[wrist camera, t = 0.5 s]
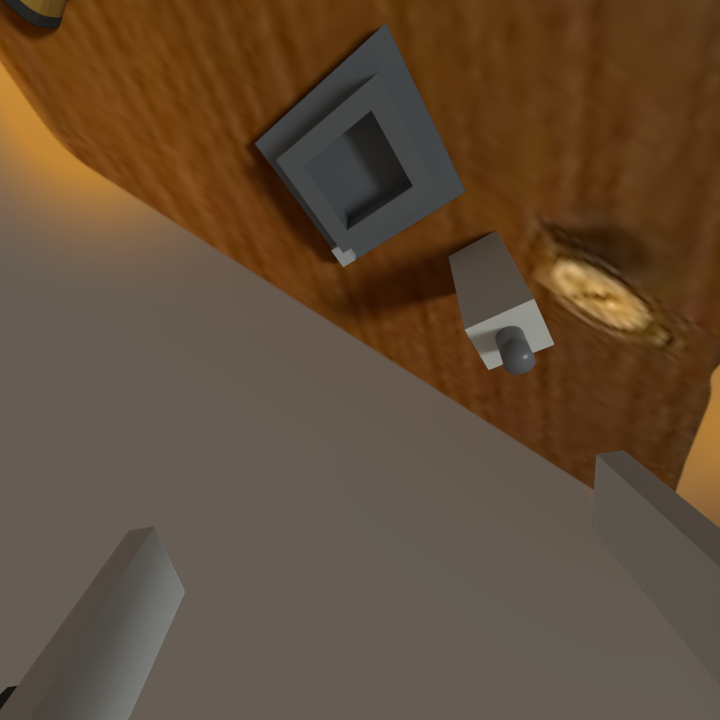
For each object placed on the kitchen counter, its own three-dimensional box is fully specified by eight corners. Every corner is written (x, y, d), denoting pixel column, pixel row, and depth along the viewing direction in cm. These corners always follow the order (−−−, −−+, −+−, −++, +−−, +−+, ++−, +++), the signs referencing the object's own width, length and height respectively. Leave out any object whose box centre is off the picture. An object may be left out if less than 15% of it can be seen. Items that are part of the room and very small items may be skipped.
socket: (260, 140, 32) (242, 150, 28) (386, 24, 26) (383, 19, 23) (346, 259, 38) (340, 279, 34) (463, 186, 32) (470, 201, 29)
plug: (448, 256, 37) (470, 355, 24) (496, 230, 35) (547, 323, 22) (467, 290, 39) (495, 396, 27) (513, 267, 37) (568, 371, 24)
